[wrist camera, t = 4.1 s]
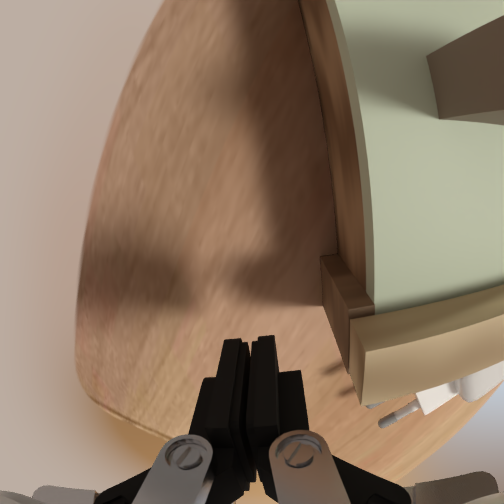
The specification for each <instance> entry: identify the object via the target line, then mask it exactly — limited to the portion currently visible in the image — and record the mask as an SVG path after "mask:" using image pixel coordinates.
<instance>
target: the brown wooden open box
mask: <svg viewBox="0 0 504 504" xmlns="http://www.w3.org/2000/svg"><path fill="white" fill-rule="evenodd" d="M298 2H299V6H300V10H301V14H302V18H303V22H304V26H305V30H306V34H307V39H308V43H309V48H310V52H311V57H312V62H313V66H314V71H315V76H316V82H317V87H318V92H319V98H320V104H321V110H322V116H323V122H324V128H325V135H326V142H327V149H328V156H329V164H330V172H331V181H332V190H333V199H334V209H335V220H336V233H337V246H338V254H336V255H328V256H321V257H320V263H321V277H322V291H323V307H324V310H325V312H326V315H327V318H328V320H329V323H330V326H331V328H332V331H333V334H334V337H335V339H336V342H337V345H338V348H339V351H340V353H341V356H342V359H343V362H344V365H345V368H346V371H347V373H348V374H350V373H349V358H350V319H356V318H362V317H367V316H373V315H375V304H374V303H373V301H372V300H371V298H370V297H369V296H368V294H367V293H366V252H365V230H364V214H363V201H362V189H361V179H360V169H359V161H358V152H357V145H356V137H355V130H354V124H353V118H352V111H351V106H350V100H349V94H348V89H347V84H346V79H345V74H344V69H343V65H342V60H341V56H340V51H339V47H338V43H337V39H336V35H335V31H334V27H333V23H332V20H331V16H330V13H329V9H328V6H327V2H326V0H298Z"/></svg>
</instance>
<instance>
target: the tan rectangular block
mask: <svg viewBox="0 0 504 504" xmlns="http://www.w3.org/2000/svg"><path fill="white" fill-rule="evenodd" d="M501 361H504V285H500V286H497V287H493V288H490V289H486V290H483V291H479V292H475V293H472V294H468V295H464V296H460V297H456V298H452V299H448V300H444V301H440V302H435V303H431V304H427V305H422V306H418V307H413V308H408V309H404V310H399V311H394V312H389V313H383V314H378V315H373V316H367V317H362V318H356V319H350V358H349V373H350V376H351V379H352V381H353V384H354V387H355V390H356V393H357V396H358V399H359V402H360V405H361V406H366V405H371V404H375V403H379V402H384V401H388V400H392V399H396V398H399V397H403V396H407V395H410V394H414V393H417V392H421V391H424V390H427V389H430V388H434V387H437V386H440V385H443V384H446V383H449V382H451V381H454V380H457V379H460V378H463V377H465V376H468V375H470V374H473V373H476V372H478V371H481V370H483V369H485V368H488V367H490V366H492V365H495V364H497V363H499V362H501Z"/></svg>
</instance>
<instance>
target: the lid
mask: <svg viewBox="0 0 504 504" xmlns="http://www.w3.org/2000/svg"><path fill="white" fill-rule="evenodd" d="M326 2H327V6H328V9H329V13H330V16H331V20H332V23H333V27H334V31H335V35H336V39H337V43H338V47H339V51H340V56H341V60H342V65H343V69H344V74H345V79H346V84H347V89H348V94H349V100H350V106H351V111H352V118H353V124H354V130H355V137H356V145H357V152H358V161H359V169H360V179H361V189H362V201H363V214H364V230H365V252H366V293H367V294H368V296H369V297H370V298H371V300H372V301H373V303H374V304H375V315H378V314H383V313H389V312H394V311H399V310H404V309H408V308H413V307H418V306H422V305H427V304H431V303H435V302H440V301H444V300H448V299H452V298H456V297H460V296H464V295H468V294H472V293H475V292H479V291H483V290H486V289H490V288H493V287H497V286H500V285H504V0H326Z"/></svg>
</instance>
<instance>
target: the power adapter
mask: <svg viewBox="0 0 504 504" xmlns="http://www.w3.org/2000/svg"><path fill="white" fill-rule="evenodd" d="M502 380H504V361H501V362H499V363H497V364H495V365H492V366H490V367H488V368H485V369H483V370H481V371H478V372H476V373H473V374H470V375H468V376H465V377H463V378H460V379H457V380H454V381H451V382H449V383H446V384H443V385H440V386H437V387H434V388H430V389H427V390H424V391H421V392H417V393H414V395H415V397H416V399H415V400H413V401H412V402H410V403H408V404H407V405H406V406H404V407H402V408H400V409H399V410H397V411H395V412H392V413H391V414H389V415H387V416H385V417H383V418H381V419H380V420H379V421H378V425H379V427H380V428H385V427H387V426H389V425H391V424H393V423H394V422H396V421H397V420H399V419H401V418H403V417H404V416H406V415H408V414H410V413H411V412H414V411H416V410H417V409H419V408H421V410H422V412H423V414H424V415H427V414H428V413H430V412H432V411H433V410H435V409H436V408H438V407H439V406H441V405H442V404H444V403H446V402H447V401H449V400H450V399H451V398H453V397H454V396H456V395H457V394H459V395H460V396H461V398H462V399H463V400H465V401H467V402H473V401H476V400H478V399H479V398H480V397H482V396H483V395H485V394H486V393H487V392H489V391H490V390H491V389H493V388H494V387H495V386H496V385H498V384H499V383H500V382H501V381H502ZM384 402H385V401H384ZM381 403H383V402H379V403H375V404H371V405H366V407H367V408H368V409H372V408H374V407H376V406H377V405H379V404H381Z"/></svg>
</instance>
